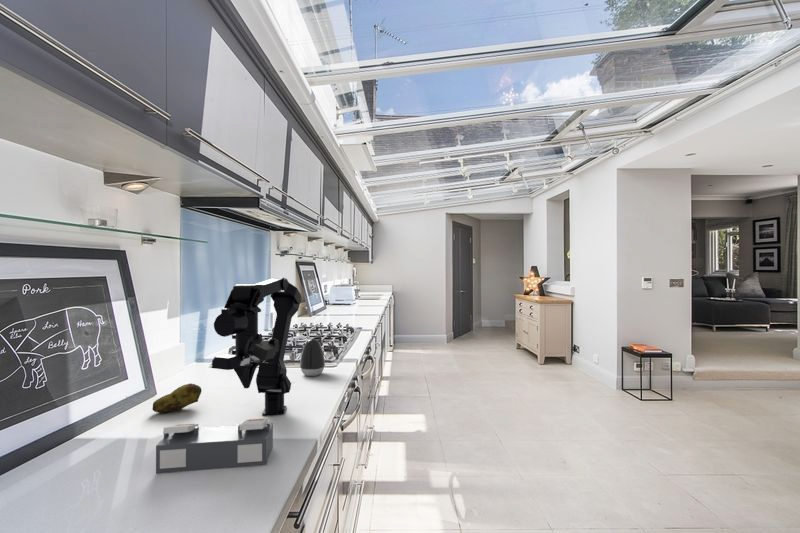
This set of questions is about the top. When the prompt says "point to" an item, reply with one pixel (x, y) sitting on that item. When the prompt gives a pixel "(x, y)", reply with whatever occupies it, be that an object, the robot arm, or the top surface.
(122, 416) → the top surface
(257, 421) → the rocker switch
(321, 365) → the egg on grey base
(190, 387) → the potato
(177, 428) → the outlet rocker
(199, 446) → the power strip
